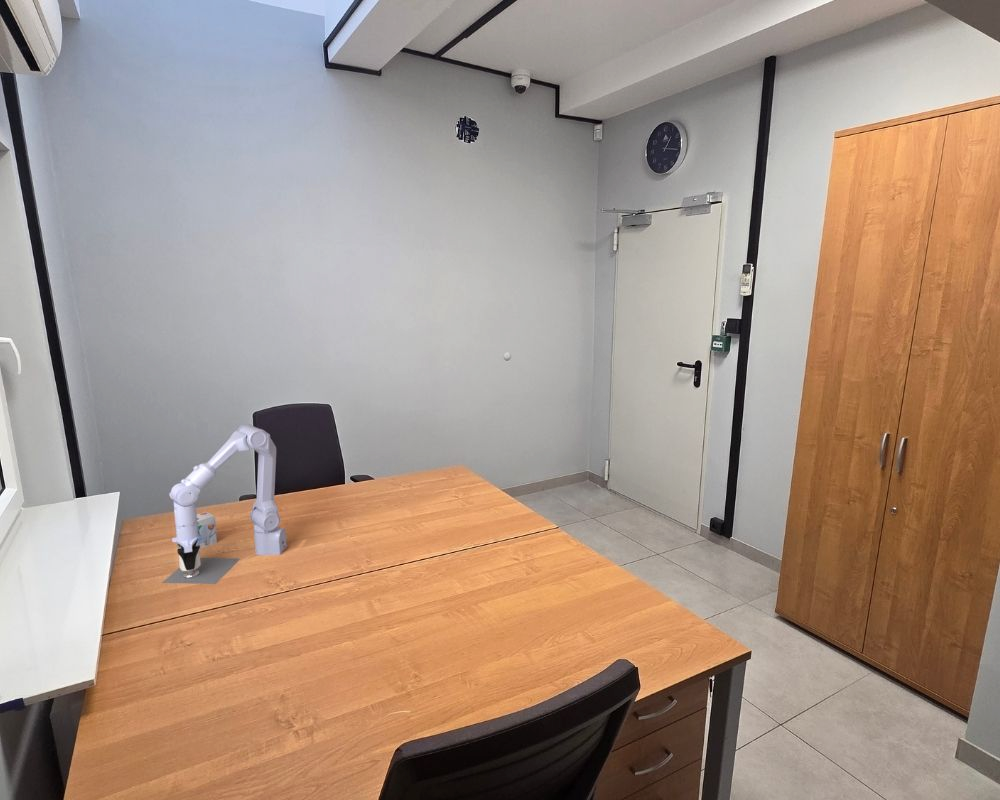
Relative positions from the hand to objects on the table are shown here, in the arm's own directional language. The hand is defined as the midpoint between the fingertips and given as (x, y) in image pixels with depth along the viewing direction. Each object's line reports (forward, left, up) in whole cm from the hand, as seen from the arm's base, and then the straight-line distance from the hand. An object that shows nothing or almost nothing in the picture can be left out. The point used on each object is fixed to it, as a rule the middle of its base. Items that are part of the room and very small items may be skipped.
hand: (190, 564), depth 168 cm
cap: (0, 0, -1) cm, 1 cm away
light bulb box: (+9, -20, -4) cm, 22 cm away
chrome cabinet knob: (0, 0, -3) cm, 3 cm away
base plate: (-2, -3, -4) cm, 6 cm away
